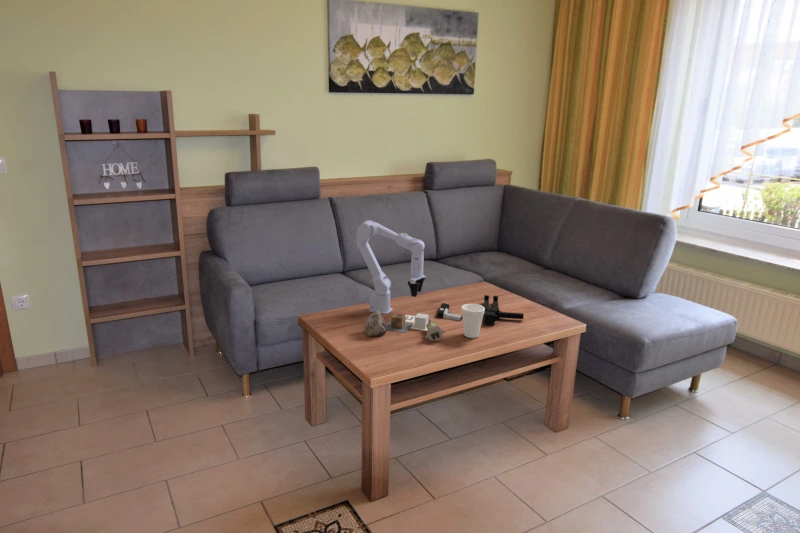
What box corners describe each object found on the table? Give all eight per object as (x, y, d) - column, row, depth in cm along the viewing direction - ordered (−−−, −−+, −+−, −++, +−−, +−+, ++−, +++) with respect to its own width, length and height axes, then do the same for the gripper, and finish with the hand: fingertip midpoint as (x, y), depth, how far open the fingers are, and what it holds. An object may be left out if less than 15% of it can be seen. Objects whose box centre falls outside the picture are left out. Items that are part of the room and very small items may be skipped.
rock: (364, 343, 240) (374, 331, 233) (355, 320, 245) (365, 307, 238) (382, 341, 245) (392, 329, 238) (373, 318, 250) (383, 306, 243)
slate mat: (381, 329, 247) (381, 329, 247) (389, 321, 257) (389, 320, 257) (405, 333, 244) (405, 332, 244) (412, 324, 254) (412, 323, 254)
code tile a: (397, 321, 257) (397, 320, 257) (403, 315, 265) (403, 314, 265) (414, 323, 255) (414, 322, 255) (419, 317, 262) (419, 316, 262)
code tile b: (410, 328, 249) (410, 328, 248) (415, 322, 256) (415, 321, 256) (427, 331, 246) (427, 330, 246) (432, 325, 254) (432, 324, 254)
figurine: (448, 339, 234) (442, 327, 249) (442, 324, 232) (437, 312, 247) (428, 347, 234) (424, 334, 249) (422, 331, 232) (418, 319, 247)
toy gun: (465, 305, 273) (440, 302, 275) (462, 317, 258) (436, 313, 260) (464, 311, 274) (440, 308, 276) (461, 323, 259) (435, 320, 261)
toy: (520, 297, 280) (525, 315, 251) (519, 308, 282) (524, 326, 252) (464, 293, 284) (463, 310, 255) (463, 304, 285) (462, 322, 256)
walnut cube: (391, 327, 248) (391, 317, 247) (394, 323, 253) (394, 313, 252) (401, 329, 247) (402, 318, 246) (405, 325, 252) (405, 314, 250)
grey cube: (414, 327, 249) (414, 317, 248) (417, 323, 254) (417, 313, 253) (425, 329, 248) (425, 318, 247) (428, 325, 253) (428, 314, 251)
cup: (458, 339, 239) (460, 310, 235) (461, 330, 248) (462, 302, 245) (481, 341, 237) (484, 312, 233) (483, 332, 246) (485, 304, 243)
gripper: (421, 271, 252) (420, 299, 256) (429, 263, 266) (428, 290, 270) (406, 269, 254) (405, 297, 258) (415, 261, 268) (414, 288, 272)
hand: (416, 293), depth 264 cm, fingers open, 7 cm apart
